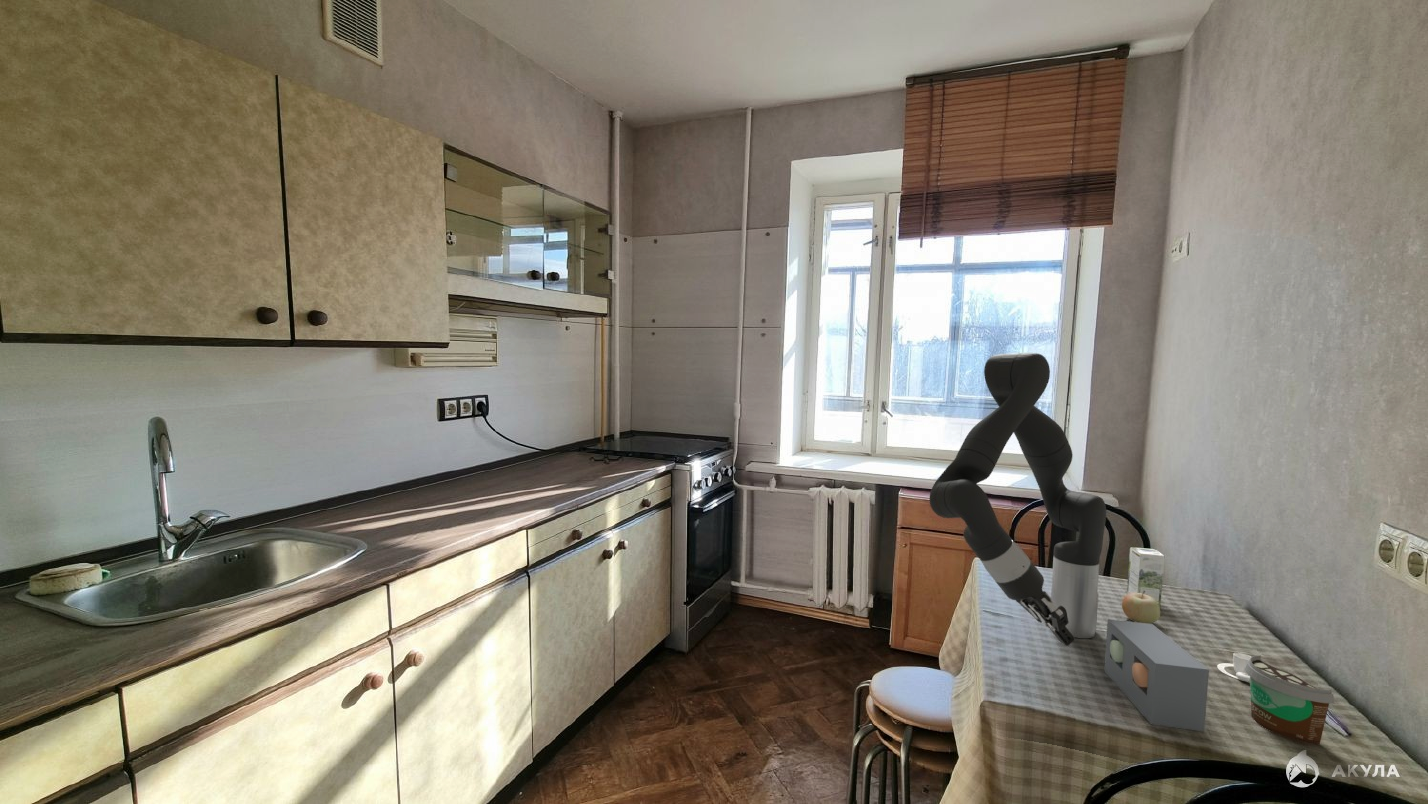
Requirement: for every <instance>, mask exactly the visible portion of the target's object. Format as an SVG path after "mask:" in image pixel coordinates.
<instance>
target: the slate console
mask: <svg viewBox="0 0 1428 804" xmlns="http://www.w3.org/2000/svg"><path fill="white" fill-rule="evenodd" d="M1106 624H1107V625H1106V636H1105V637H1106V638H1105V639H1106V640H1105V654H1104V656H1105V657H1104V668H1103V669H1104V670H1103V671H1104V672H1105V674H1106V675H1107V677H1109V678H1110V679H1111V681H1112V682H1113V683H1114V684H1115V685H1116V686H1117V688H1118V689H1120V691H1121V692H1122V694H1124V695H1125V697H1127V699H1128V700H1129V701H1130V702H1131V704H1133V706H1135V708H1137V710H1138V711H1139V713H1141V714H1142V716H1143V717H1144V718H1145V719H1146V720H1147V722H1148V723H1150V725H1153V726H1154V725H1155V726H1162V727H1169V728H1177V729H1183V730H1190V731H1197V732H1205V726H1206V716H1207V714H1206V713H1207V702H1208V690H1209V689H1208V688H1209V675H1210V669H1209V668H1208V667H1207V666H1206V665H1204V664H1203V663H1201V662H1200V661H1199V660H1197V658H1195V657H1194V656H1193V655H1192V654H1190V653H1189V652H1188V651H1186V649H1184V648H1183V647H1181V646H1180V645H1179V644H1178V643H1176V642H1175V641H1174V640H1173V639H1172V638H1171V637H1169V636H1168V635H1167V634H1165V633H1164V632H1163V631H1162V630H1160V629H1159V628H1158V627H1157V626H1156V625H1154V623H1152V624H1148V623H1138V622H1135V621H1125V620H1118V619H1111V618H1110V619H1107V623H1106ZM1112 640H1117V641H1120V642H1121V643H1122V644H1124V649H1123V663H1121V662H1115V661H1114V660H1113V659H1112V656H1111V653H1110V643H1111V641H1112ZM1134 663H1143V664H1144V665H1145V666H1147V667H1148V668H1149V671H1148V685H1147V687H1139V686H1137V685H1136V683H1135V681H1134V679H1133V675H1132V666H1133V664H1134Z"/></svg>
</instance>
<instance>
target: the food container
mask: <svg viewBox="0 0 1428 804" xmlns="http://www.w3.org/2000/svg"><path fill="white" fill-rule="evenodd" d="M1261 657H1262V656H1261V654H1259V655H1253V656H1251V658H1250V660H1249V661H1248V662H1247V665H1246V667H1245V671H1246V673H1247V674H1248V675H1249V676H1250V683H1249V685H1250V687H1249V688H1250V707H1251V708H1250V709H1251V711H1250V712H1251V713H1250V715H1251V718H1252V719H1253V721H1254V720H1255V721H1256V722H1255V723H1256V724H1258V725H1259V726H1260V725H1261V726H1260V727H1262V726H1263V727H1262V728H1264V729H1265V728H1266V729H1265V730H1267V729H1268V731H1269V730H1270V731H1269V732H1271V733H1273V734H1276V735H1278V736H1281V737H1284V738H1286V739H1289V740H1293V741H1295V742H1300V743H1305V744H1310V745H1320V744H1321V741H1322V737H1323V736H1322V735H1323V733H1324V732H1323V731H1324V728H1325V723H1326V719H1327V716H1328V710H1329V706H1330V704H1335V699H1334V698H1335V696H1334V694H1332V693H1333V692H1332V689H1329V688H1328V689H1326V688H1325V689H1324V688H1317V687H1315V686H1313V685H1311V684H1309V683H1308V682H1306V681H1305V680H1303V679H1302V678H1300V677H1298V676H1297V675H1295V674H1293V673H1290V672H1289V671H1285V670H1282V669H1279V668H1277V667H1275V666H1272V665H1271V664H1268V663H1266V662H1265V661H1262V660H1261V659H1262V658H1261Z"/></svg>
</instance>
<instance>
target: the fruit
mask: <svg viewBox="0 0 1428 804" xmlns="http://www.w3.org/2000/svg"><path fill="white" fill-rule="evenodd" d="M1144 593H1145V591H1143V594H1142V593H1130V594H1127V593H1126V595H1125V596H1123V598H1122V601H1121V607H1122V612H1123V613H1124V615H1125V616H1126V617H1127V618H1128V619H1129V620H1130V621H1131V622H1138V623H1148V624H1154V623H1157V621H1158V620H1159V619H1160V617H1161V606H1160V607H1159V604H1158V603H1157V601H1156V600H1155V599H1154V598H1152V597H1150V596H1148V595H1145V594H1144Z"/></svg>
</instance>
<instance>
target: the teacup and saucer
mask: <svg viewBox="0 0 1428 804" xmlns="http://www.w3.org/2000/svg"><path fill="white" fill-rule="evenodd" d="M1251 657H1252V656H1251V655H1249V654H1247V653H1242V652H1233V654H1232V663H1229V662H1228V663H1227V662H1226V663H1225V662H1224V663H1218V664H1217V665H1216V667H1217V669H1218V670H1219V672H1222V673H1223V674H1225V675H1226V676H1229V677H1231V678H1234V679H1236V680H1238V681H1242V682H1247V683H1249V684H1250V676H1249V675H1248V674H1247V673H1246V671H1245V667H1246V665H1247V662H1248V661H1249V660H1250V658H1251ZM1228 667H1233V669H1234V670H1233V671H1234V672H1235V675H1233V674H1231V673H1230V672H1228V671H1226V670H1225V668H1228Z"/></svg>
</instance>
